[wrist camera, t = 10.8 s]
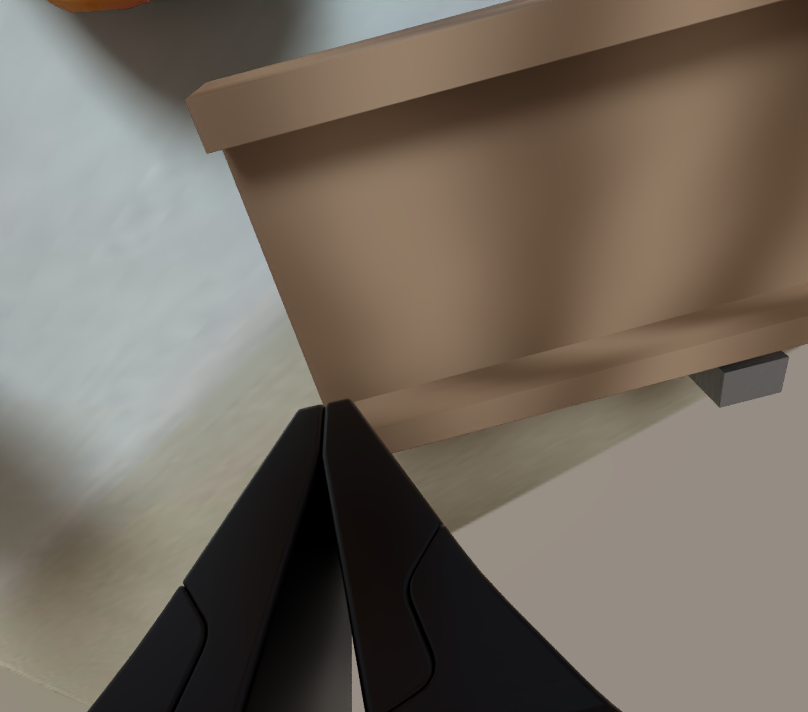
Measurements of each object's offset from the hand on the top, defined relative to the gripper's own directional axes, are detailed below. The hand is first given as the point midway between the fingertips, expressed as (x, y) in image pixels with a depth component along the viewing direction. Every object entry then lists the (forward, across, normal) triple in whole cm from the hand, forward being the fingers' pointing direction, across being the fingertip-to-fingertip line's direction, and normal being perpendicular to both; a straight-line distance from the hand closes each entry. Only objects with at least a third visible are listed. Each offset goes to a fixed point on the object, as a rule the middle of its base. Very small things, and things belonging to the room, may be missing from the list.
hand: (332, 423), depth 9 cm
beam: (+9, -12, 0) cm, 15 cm away
